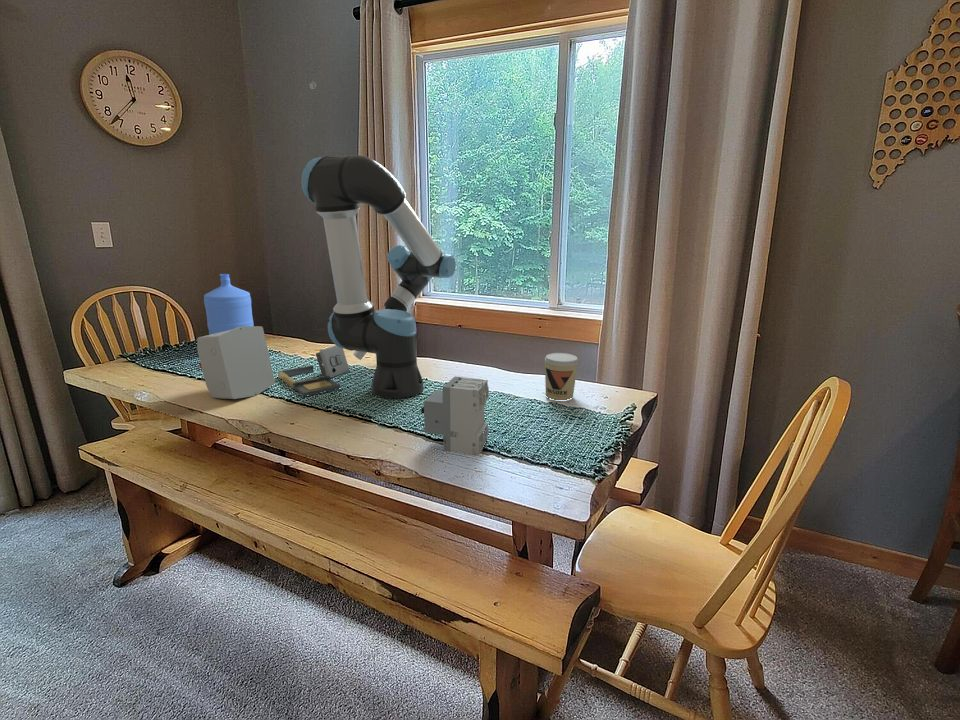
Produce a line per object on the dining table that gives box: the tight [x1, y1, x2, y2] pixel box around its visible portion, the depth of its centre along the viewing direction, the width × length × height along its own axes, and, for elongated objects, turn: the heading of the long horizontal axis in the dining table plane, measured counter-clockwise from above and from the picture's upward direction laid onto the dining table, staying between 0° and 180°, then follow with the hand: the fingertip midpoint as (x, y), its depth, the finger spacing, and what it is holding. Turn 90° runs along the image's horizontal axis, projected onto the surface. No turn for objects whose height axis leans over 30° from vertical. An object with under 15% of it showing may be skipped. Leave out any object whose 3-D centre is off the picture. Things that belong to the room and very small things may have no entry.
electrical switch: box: [315, 344, 350, 379], centre depth 162 cm, size 9×5×9 cm, turn 152°
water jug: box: [203, 273, 255, 335], centre depth 187 cm, size 16×16×28 cm
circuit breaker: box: [420, 376, 490, 456], centre depth 113 cm, size 8×14×15 cm, turn 73°
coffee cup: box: [544, 352, 579, 400], centre depth 143 cm, size 9×9×12 cm
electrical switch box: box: [196, 325, 276, 400], centre depth 144 cm, size 15×15×20 cm
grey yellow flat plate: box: [277, 364, 342, 397], centre depth 154 cm, size 22×11×2 cm, turn 39°
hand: (356, 357), depth 167 cm, fingers closed
